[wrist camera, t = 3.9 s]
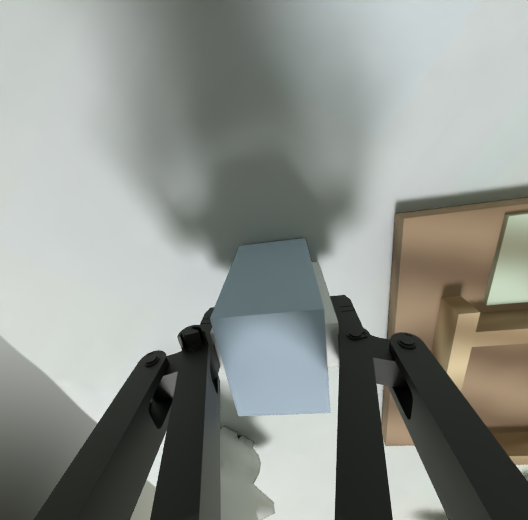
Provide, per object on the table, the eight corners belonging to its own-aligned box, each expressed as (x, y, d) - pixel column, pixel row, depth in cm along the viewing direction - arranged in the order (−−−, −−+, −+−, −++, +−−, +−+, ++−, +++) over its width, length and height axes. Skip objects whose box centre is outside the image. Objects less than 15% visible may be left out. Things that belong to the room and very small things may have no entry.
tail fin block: (239, 245, 17) (209, 318, 10) (305, 237, 17) (324, 308, 10) (253, 316, 20) (238, 416, 12) (311, 311, 19) (330, 413, 12)
